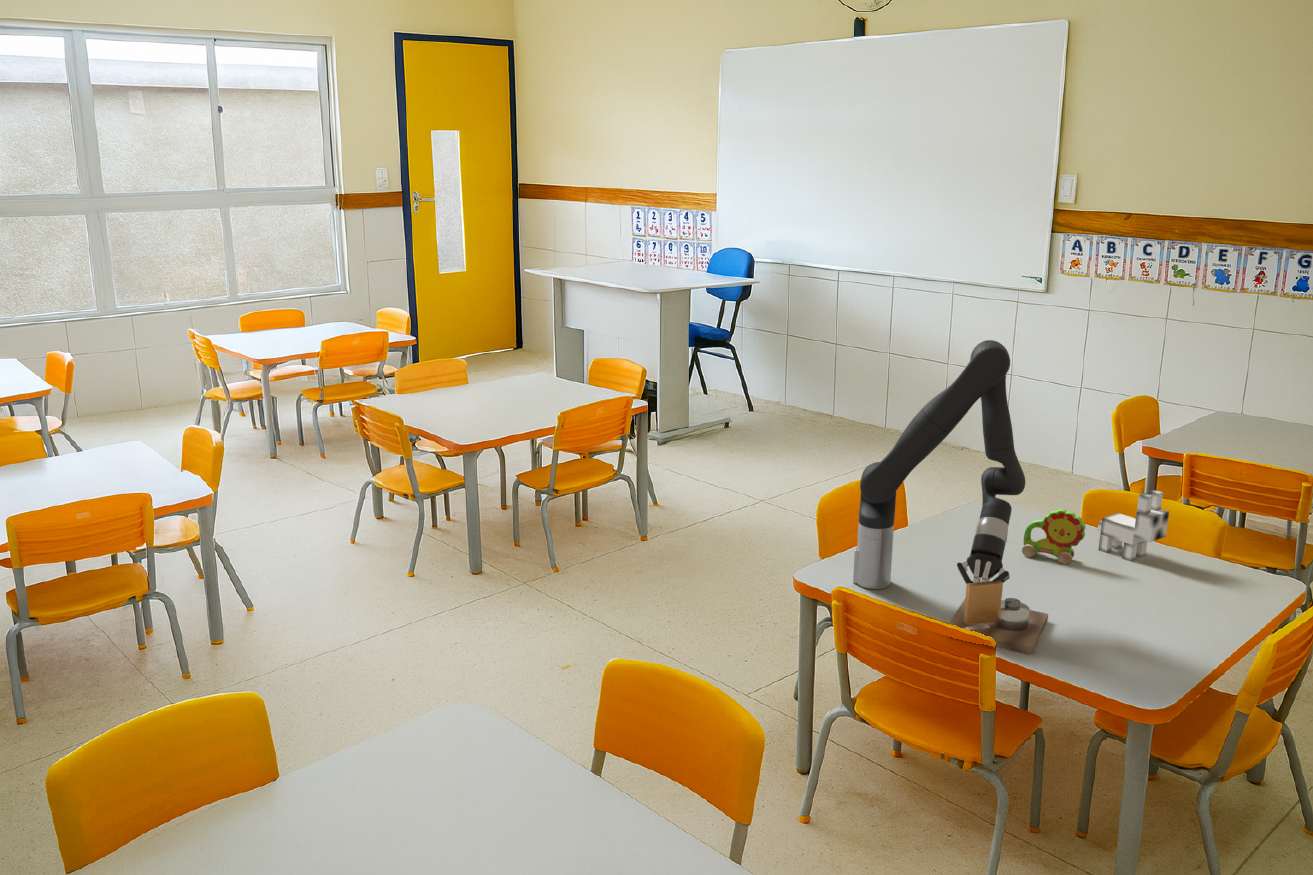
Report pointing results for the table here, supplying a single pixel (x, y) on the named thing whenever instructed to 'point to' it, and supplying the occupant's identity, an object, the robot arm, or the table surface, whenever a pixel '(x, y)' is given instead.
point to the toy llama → (1135, 527)
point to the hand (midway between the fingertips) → (975, 603)
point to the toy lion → (1055, 535)
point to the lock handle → (994, 606)
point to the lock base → (1007, 631)
